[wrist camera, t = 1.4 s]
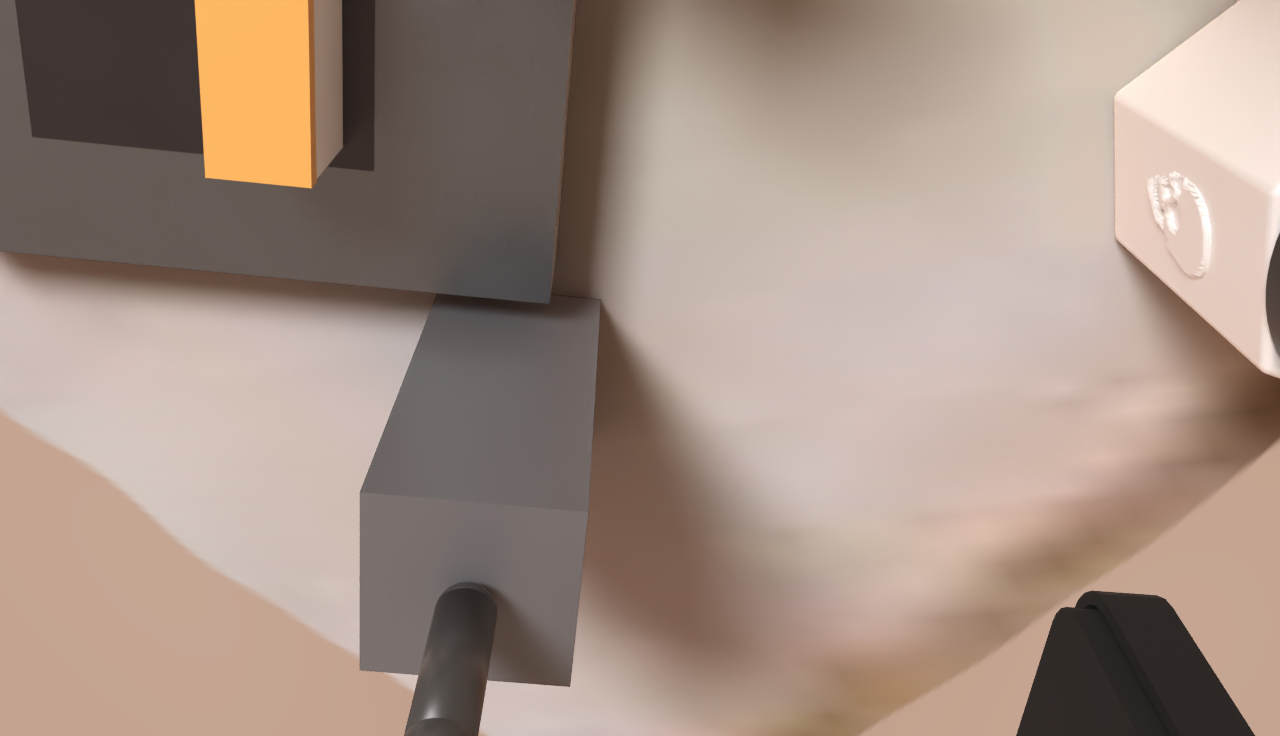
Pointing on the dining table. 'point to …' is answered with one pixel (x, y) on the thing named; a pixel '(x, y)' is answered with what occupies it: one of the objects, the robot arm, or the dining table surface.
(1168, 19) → the dining table surface
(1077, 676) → the robot arm
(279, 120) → the block
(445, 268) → the breaker panel
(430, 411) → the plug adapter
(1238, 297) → the jar
